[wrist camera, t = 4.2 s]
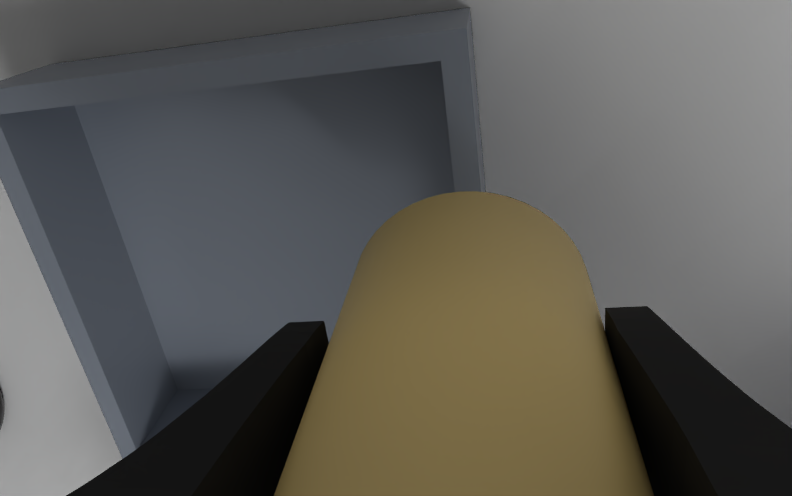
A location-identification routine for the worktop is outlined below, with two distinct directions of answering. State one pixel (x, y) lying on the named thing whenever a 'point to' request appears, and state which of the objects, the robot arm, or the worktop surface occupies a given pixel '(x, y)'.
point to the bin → (227, 190)
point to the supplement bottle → (1, 409)
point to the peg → (467, 366)
